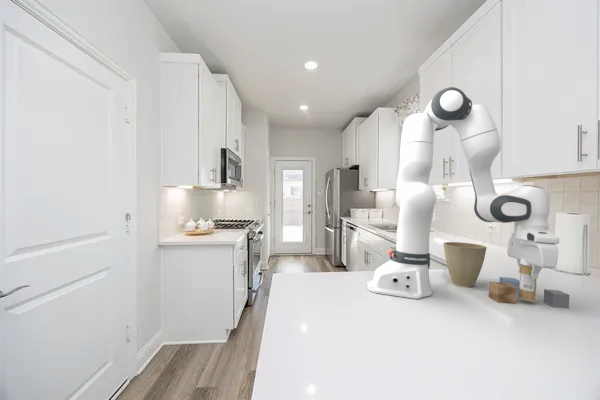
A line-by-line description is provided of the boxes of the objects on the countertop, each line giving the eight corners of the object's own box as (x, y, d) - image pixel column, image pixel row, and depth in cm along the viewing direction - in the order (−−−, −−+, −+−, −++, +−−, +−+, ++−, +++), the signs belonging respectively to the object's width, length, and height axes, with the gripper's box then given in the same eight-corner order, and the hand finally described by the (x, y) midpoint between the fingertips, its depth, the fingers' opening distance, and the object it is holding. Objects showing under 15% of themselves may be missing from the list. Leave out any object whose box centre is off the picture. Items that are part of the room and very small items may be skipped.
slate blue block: (506, 294, 103) (506, 280, 103) (499, 290, 108) (499, 277, 108) (521, 295, 102) (522, 281, 102) (513, 291, 107) (514, 278, 107)
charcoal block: (552, 307, 91) (553, 293, 91) (543, 302, 96) (544, 289, 96) (569, 308, 90) (569, 294, 90) (558, 303, 95) (559, 290, 95)
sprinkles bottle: (537, 300, 94) (540, 260, 94) (532, 302, 91) (535, 261, 91) (521, 296, 98) (523, 257, 98) (515, 298, 95) (518, 258, 95)
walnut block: (497, 302, 93) (497, 286, 93) (489, 297, 99) (489, 281, 99) (515, 304, 92) (516, 287, 92) (506, 298, 98) (507, 283, 98)
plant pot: (437, 278, 122) (438, 241, 122) (474, 280, 120) (476, 243, 120) (449, 288, 107) (451, 246, 107) (492, 292, 105) (494, 249, 105)
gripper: (503, 230, 105) (501, 267, 105) (539, 237, 85) (537, 283, 85) (522, 231, 104) (520, 269, 104) (563, 239, 84) (561, 285, 84)
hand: (528, 275), depth 94 cm, fingers closed on sprinkles bottle, 4 cm apart
